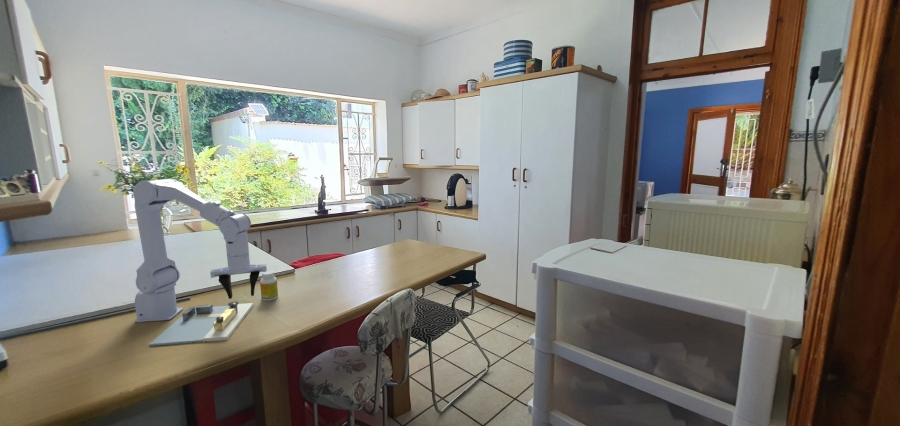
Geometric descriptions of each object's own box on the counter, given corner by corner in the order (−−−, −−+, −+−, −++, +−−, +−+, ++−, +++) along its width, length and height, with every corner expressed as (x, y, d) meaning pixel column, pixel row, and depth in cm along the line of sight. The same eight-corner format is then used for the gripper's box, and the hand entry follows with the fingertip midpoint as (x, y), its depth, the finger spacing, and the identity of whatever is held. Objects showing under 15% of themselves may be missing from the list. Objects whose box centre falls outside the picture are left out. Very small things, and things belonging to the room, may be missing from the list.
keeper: (183, 321, 106) (182, 313, 105) (192, 312, 111) (191, 305, 111) (204, 319, 107) (203, 312, 107) (213, 311, 113) (212, 304, 112)
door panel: (149, 346, 93) (149, 342, 93) (191, 309, 114) (190, 306, 114) (227, 339, 97) (227, 336, 97) (253, 305, 118) (253, 303, 118)
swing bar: (228, 314, 109) (227, 305, 109) (236, 313, 110) (235, 305, 109) (214, 330, 99) (213, 320, 99) (222, 329, 100) (221, 320, 99)
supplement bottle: (271, 301, 122) (269, 275, 120) (257, 300, 123) (255, 274, 121) (281, 295, 127) (279, 270, 125) (268, 294, 128) (266, 269, 126)
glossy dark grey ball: (227, 318, 109) (226, 305, 109) (231, 314, 112) (230, 301, 111) (237, 317, 110) (236, 304, 109) (240, 313, 113) (239, 301, 112)
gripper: (265, 248, 111) (268, 287, 113) (212, 252, 104) (216, 294, 107) (264, 254, 104) (267, 296, 107) (207, 259, 98) (211, 303, 101)
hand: (241, 296), depth 106 cm, fingers open, 5 cm apart
